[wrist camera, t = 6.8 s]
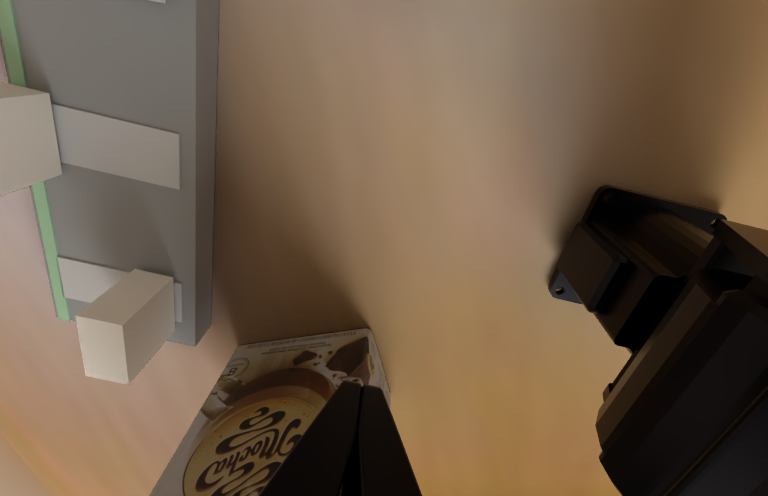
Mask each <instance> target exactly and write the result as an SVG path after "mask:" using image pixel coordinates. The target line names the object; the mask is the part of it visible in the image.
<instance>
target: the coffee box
mask: <svg viewBox="0 0 768 496" xmlns="http://www.w3.org/2000/svg"><path fill="white" fill-rule="evenodd" d="M344 380H349V381H354V382H359V383H361V384H362V386H363V385H364V384H368V385H373V386H377V387H380V388H382V390H383V392H384V395H385V397H386V400H387V403H388V405H389V408H390V404H391V396H390V392H389V388H388V385H387V381H386V378H385V374H384V370H383V367H382V364H381V360H380V356H379V353H378V350H377V346H376V343H375V340H374V337H373V334H372V331H371V330H370V329H367V328H365V329H357V330H350V331H343V332H336V333H328V334H321V335H313V336H306V337H299V338H291V339H284V340H277V341H269V342H261V343H254V344H247V345H240V346H238V347H237V349H236V350H235V352H234V354H233V356H232V357H231V359H230V361H229V362H228V364H227V366H226V367H225V369H224V371H223V372H222V374H221V376H220V378H219V379H218V381H217V383H216V384H215V386H214V388H213V389H212V391H211V392H210V394H209V396H208V398H207V399H206V401H205V403H204V404H203V406H202V408H201V409H200V411H199V413H198V414H197V416H196V418H195V419H194V421H193V423H192V425H191V426H190V428H189V430H188V431H187V433H186V435H185V437H184V438H183V440H182V442H181V443H180V445H179V447H178V448H177V450H176V452H175V453H174V455H173V457H172V458H171V460H170V462H169V463H168V465H167V467H166V469H165V470H164V472H163V474H162V475H161V477H160V479H159V480H158V482H157V484H156V485H155V487H154V489H153V490H152V492H151V494H150V495H149V496H258V495H259V493H260V492H261V491H262V489H263V488H264V487H265V485H266V484H267V483H268V481H269V480H270V479H271V477H272V476H273V474H274V473H275V472H276V470H277V469H278V468H279V466H280V465H281V464H282V462H283V461H284V460H285V458H286V457H287V456H288V454H289V453H290V451H291V450H292V449H293V447H294V446H295V445H296V443H297V442H298V441H299V439H300V438H301V437H302V435H303V434H304V433H305V431H306V430H307V428H308V427H309V426H310V424H311V423H312V422H313V420H314V419H315V418H316V416H317V415H318V414H319V412H320V411H321V410H322V408H323V407H324V405H325V404H326V403H327V401H328V400H329V399H330V397H331V396H332V395H333V393H334V392H335V391H336V389H337V388H338V387H339V385H340V384H341V383H342V381H344ZM339 496H340V493H339Z"/></svg>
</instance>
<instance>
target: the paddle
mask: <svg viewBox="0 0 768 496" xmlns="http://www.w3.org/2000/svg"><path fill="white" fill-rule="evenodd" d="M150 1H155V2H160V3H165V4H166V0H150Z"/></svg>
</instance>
